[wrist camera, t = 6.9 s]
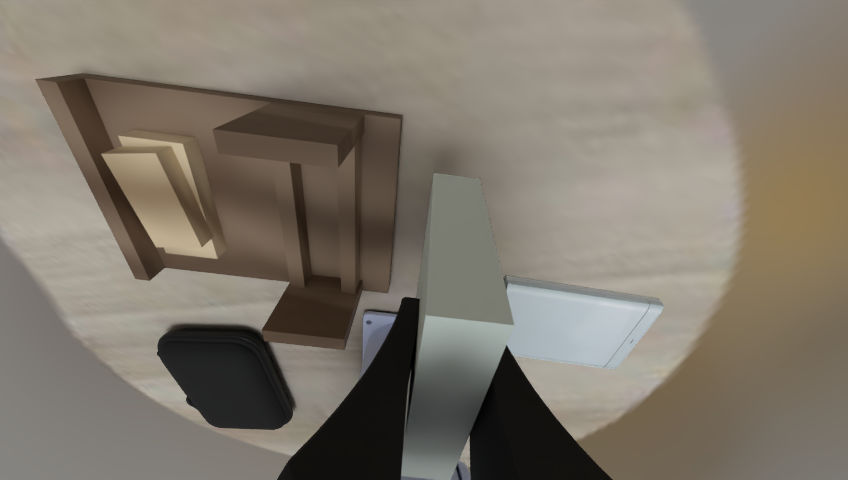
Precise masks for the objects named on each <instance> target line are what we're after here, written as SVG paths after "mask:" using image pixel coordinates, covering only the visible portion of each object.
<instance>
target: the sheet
mask: <svg viewBox="0 0 848 480" xmlns="http://www.w3.org/2000/svg"><path fill="white" fill-rule="evenodd" d="M416 298H418V299H420V305H419V321H418V328H417V334H416V341H415V347H414V354H413V360H412V367H411V372H410V378H409V383H408V392H407V404H406V417H405V430H404V443H403V457H402V471H401V476H405V477H415V478H425V479H435V480H451V478H452V476H453V473H454V471H455V468H456V466H457V463H458V461H459V459H460V456H461V454H462V451H463V449H464V446H465V444H466V442H467V439H468V437H469V434H470V432H471V430H472V427H473V425H474V422H475V420H476V417H477V415H478V413H479V410H480V408H481V405H482V403H483V400H484V398H485V396H486V393H487V391H488V388H489V386H490V383H491V381H492V379H493V376H494V374H495V371H496V369H497V367H498V364H499V362H500V359H501V357H502V354H503V352H504V350H505V347H506V345H507V342H508V340H509V337H510V335H511V333H512V330H513V328H514V321H513V317H512V313H511V309H510V304H509V300H508V296H507V292H506V287H505V283H504V279H503V275H502V271H501V266H500V262H499V258H498V254H497V249H496V245H495V241H494V237H493V232H492V228H491V224H490V220H489V215H488V211H487V207H486V203H485V198H484V194H483V190H482V186H481V182H480V179H478V178H470V177H462V176H455V175H447V174H439V173H433V181H432V188H431V195H430V202H429V209H428V216H427V224H426V231H425V238H424V245H423V252H422V259H421V267H420V274H419V281H418V288H417V295H416Z"/></svg>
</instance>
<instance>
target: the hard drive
mask: <svg viewBox="0 0 848 480" xmlns="http://www.w3.org/2000/svg"><path fill="white" fill-rule="evenodd" d="M504 283H505V287H506V292H507V296H508V300H509V304H510V309H511V313H512V317H513V321H514V328H513V330H512V333H511V335H510V337H509V340H508V342H507V346H508V348H509V350H510V351H511V353H512V355H513V356H519V357H526V358H533V359H540V360H547V361H555V362H562V363H569V364H576V365H584V366H591V367H598V368H606V369H616V368H617V367H618V366H619V365H620V364H621V362H622V361H623V360H624V359H625V357H626V356H627V355H628V354H629V353H630V351H631V350H632V349H633V348H634V346H635V345H636V344H637V343H638V341H639V340H640V339H641V338H642V336H643V335H644V334H645V333H646V331H647V330H648V329H649V327H650V326H651V325H652V324H653V323H654V321H655V320H656V319H657V317H658V316H659V315H660V313H661V312H662V310H663V307H664V305H663V304H662V302H661V301H660V300H659V299H657V298H651V297H644V296H638V295H632V294H625V293H618V292H612V291H605V290H599V289H592V288H586V287H579V286H572V285H566V284H559V283H553V282H546V281H540V280H533V279H526V278H520V277H513V276H505V279H504Z"/></svg>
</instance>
